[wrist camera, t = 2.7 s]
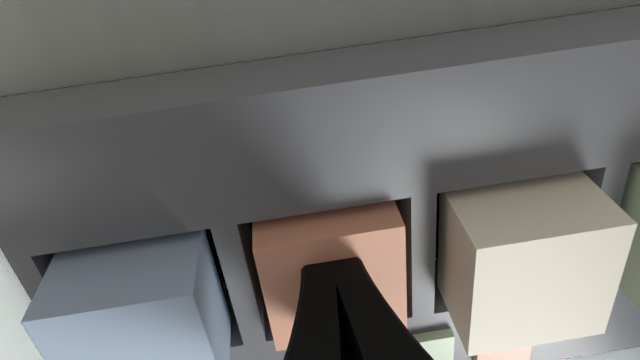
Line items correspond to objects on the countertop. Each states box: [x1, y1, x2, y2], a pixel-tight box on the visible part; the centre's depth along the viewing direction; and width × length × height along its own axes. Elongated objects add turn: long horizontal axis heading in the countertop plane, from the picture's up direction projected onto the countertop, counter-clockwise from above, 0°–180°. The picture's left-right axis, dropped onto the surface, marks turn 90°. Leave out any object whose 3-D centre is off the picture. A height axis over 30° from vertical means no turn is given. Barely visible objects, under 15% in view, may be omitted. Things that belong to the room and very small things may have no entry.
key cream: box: [437, 171, 637, 357], centre depth 12 cm, size 3×3×2 cm
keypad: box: [0, 5, 640, 360], centre depth 13 cm, size 19×10×2 cm, turn 96°
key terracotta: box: [252, 200, 407, 351], centre depth 13 cm, size 3×3×2 cm
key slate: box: [21, 230, 231, 360], centre depth 12 cm, size 3×3×2 cm
